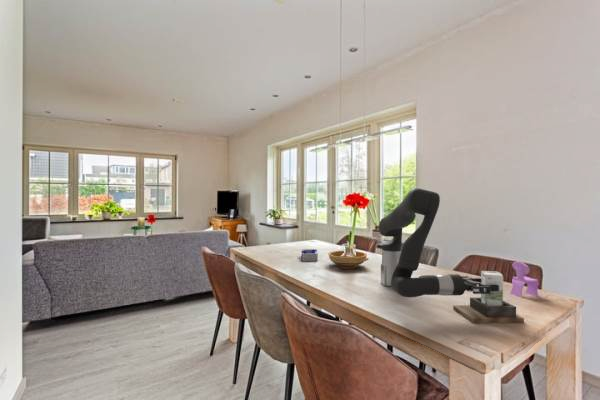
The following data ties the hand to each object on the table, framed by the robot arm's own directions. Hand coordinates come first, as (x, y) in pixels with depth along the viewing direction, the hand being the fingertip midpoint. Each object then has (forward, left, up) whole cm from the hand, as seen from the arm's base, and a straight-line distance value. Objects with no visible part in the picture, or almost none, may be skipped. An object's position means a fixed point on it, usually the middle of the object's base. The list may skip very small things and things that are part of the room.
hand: (490, 284), depth 112 cm
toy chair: (+31, +23, -12) cm, 40 cm away
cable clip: (-62, +106, -12) cm, 123 cm away
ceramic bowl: (-38, +81, -12) cm, 90 cm away
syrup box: (0, 0, -10) cm, 10 cm away
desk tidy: (-61, +106, -11) cm, 123 cm away
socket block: (-2, 0, -11) cm, 12 cm away
